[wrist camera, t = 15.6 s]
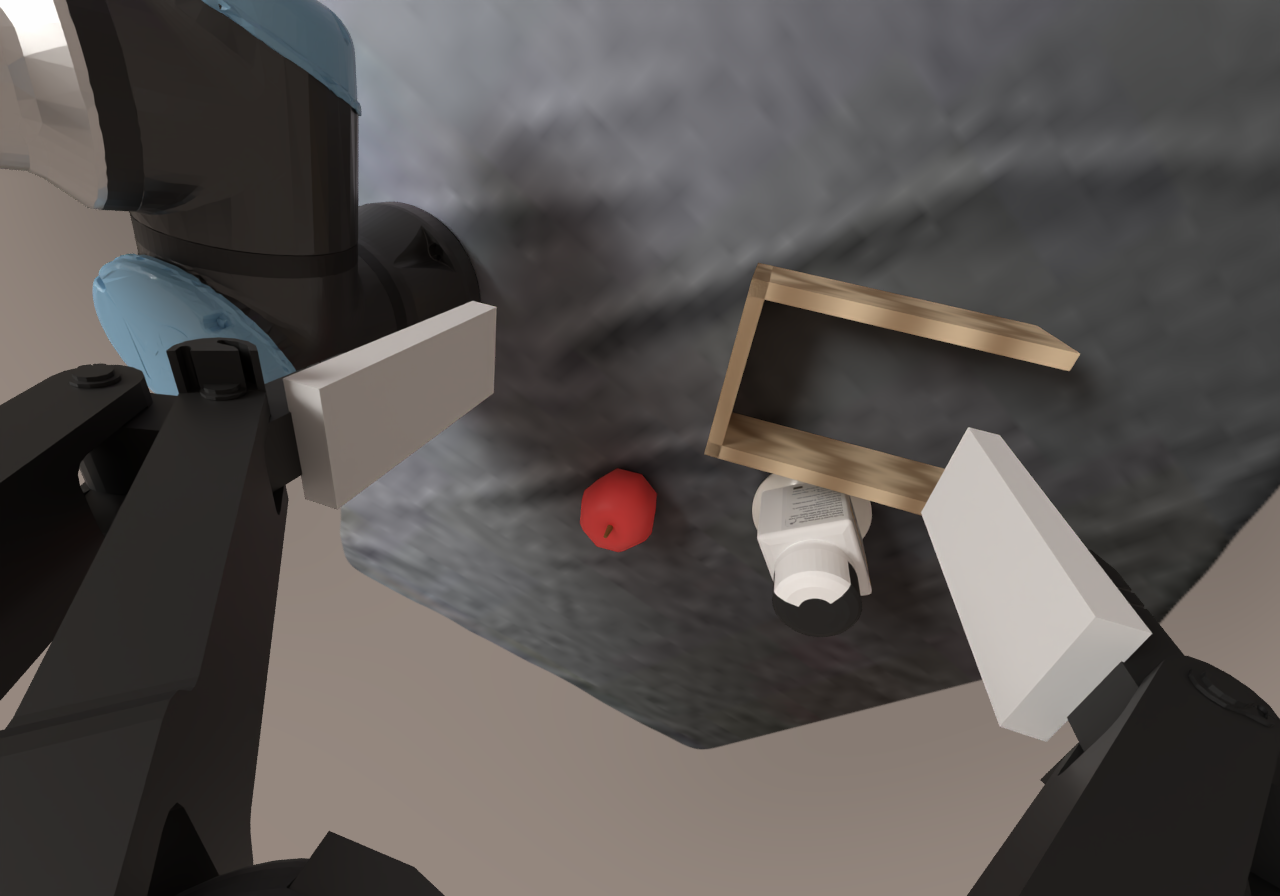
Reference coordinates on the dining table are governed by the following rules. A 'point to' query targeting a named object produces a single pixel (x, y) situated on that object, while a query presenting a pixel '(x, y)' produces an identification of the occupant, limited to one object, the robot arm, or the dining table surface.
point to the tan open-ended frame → (840, 460)
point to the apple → (618, 510)
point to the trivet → (777, 481)
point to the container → (813, 558)
